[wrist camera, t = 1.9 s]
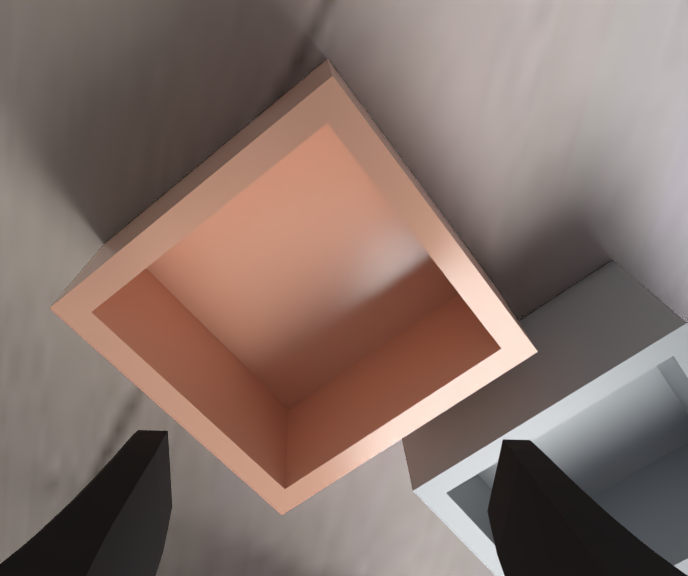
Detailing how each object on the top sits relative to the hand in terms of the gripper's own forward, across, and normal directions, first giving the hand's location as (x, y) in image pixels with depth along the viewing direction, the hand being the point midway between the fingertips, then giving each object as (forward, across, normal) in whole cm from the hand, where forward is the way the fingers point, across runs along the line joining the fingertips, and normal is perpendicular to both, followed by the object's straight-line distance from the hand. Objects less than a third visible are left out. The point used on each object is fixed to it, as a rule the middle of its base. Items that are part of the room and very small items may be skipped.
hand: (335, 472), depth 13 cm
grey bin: (+10, -10, +6) cm, 16 cm away
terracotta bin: (+10, +1, 0) cm, 10 cm away
